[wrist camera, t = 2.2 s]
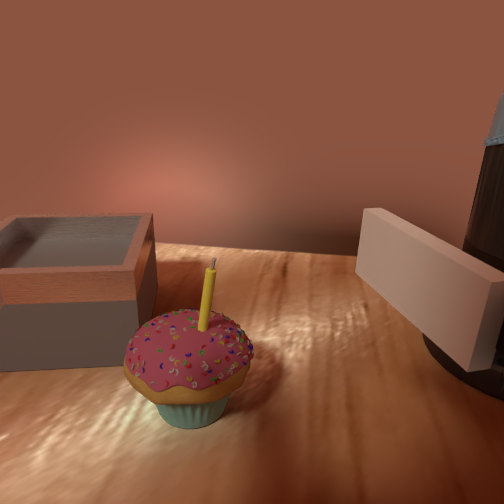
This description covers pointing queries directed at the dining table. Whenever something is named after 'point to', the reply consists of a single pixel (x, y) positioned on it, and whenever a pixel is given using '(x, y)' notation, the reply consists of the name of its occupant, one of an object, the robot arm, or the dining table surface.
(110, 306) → the gray open box
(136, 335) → the cupcake
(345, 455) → the dining table surface
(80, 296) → the collar
